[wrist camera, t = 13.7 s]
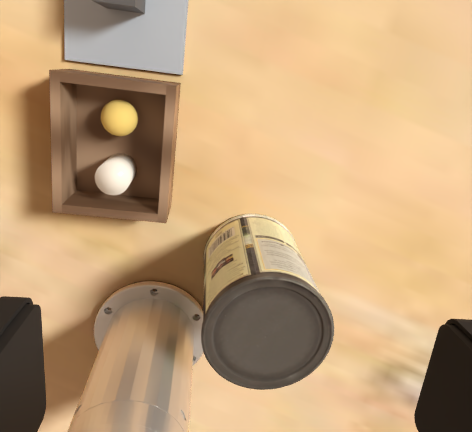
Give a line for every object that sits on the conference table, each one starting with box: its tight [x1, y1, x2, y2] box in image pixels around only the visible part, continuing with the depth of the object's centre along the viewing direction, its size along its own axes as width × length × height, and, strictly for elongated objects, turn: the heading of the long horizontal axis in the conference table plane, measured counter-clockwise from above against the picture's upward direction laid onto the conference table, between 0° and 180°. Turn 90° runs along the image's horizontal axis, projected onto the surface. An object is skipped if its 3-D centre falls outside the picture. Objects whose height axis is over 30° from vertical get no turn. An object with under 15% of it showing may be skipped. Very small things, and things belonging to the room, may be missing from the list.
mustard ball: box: [101, 99, 138, 136], centre depth 37 cm, size 3×3×3 cm
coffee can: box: [201, 214, 334, 390], centre depth 39 cm, size 10×10×14 cm
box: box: [49, 69, 181, 223], centre depth 38 cm, size 12×10×5 cm
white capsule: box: [95, 153, 137, 195], centre depth 39 cm, size 3×3×4 cm
